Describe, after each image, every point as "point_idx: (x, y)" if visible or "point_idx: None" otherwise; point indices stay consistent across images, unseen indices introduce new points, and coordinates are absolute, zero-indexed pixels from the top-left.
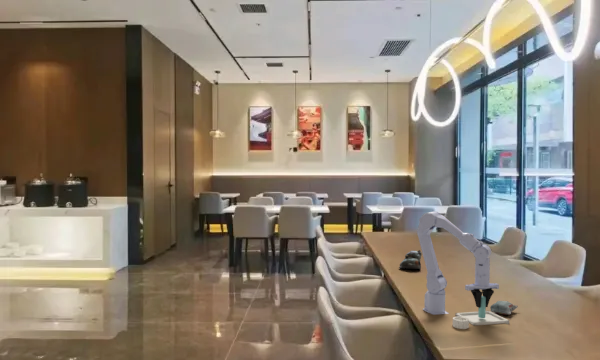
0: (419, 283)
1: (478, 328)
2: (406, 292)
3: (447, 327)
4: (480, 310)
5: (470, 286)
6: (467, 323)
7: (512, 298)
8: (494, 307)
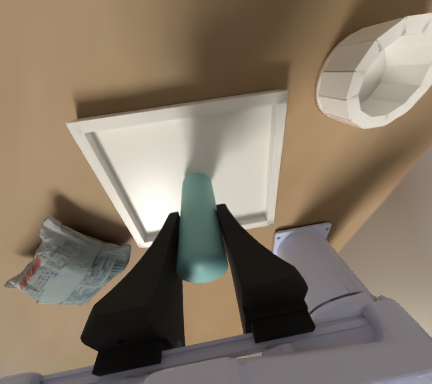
0: None
1: (274, 58)
2: None
3: None
4: (212, 195)
5: (411, 364)
6: (378, 28)
7: (37, 337)
8: (111, 261)
